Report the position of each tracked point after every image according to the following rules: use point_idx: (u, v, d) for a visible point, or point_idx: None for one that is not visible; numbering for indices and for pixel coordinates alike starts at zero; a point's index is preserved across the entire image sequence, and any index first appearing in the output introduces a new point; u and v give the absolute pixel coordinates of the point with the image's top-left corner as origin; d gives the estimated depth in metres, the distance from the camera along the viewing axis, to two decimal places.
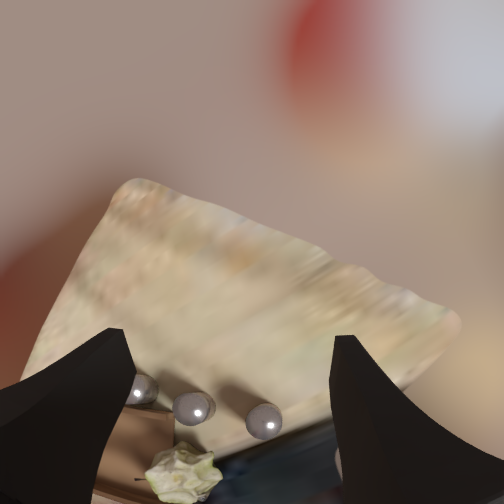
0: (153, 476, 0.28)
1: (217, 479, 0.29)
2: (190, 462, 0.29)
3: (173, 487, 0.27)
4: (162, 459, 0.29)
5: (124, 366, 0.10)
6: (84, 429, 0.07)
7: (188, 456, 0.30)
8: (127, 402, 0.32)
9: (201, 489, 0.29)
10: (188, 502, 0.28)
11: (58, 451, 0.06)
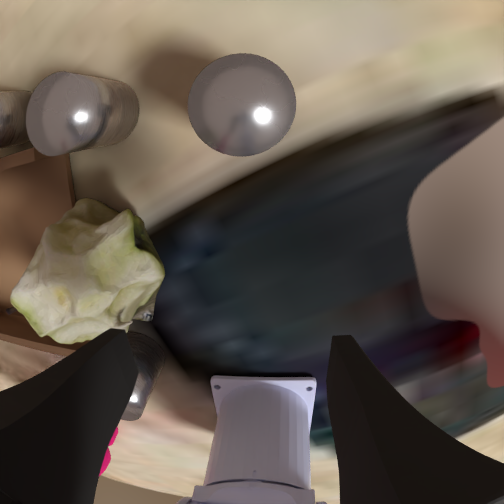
0: (27, 299, 0.14)
1: (151, 280, 0.16)
2: (79, 250, 0.13)
3: (65, 316, 0.14)
4: (35, 254, 0.14)
5: (126, 366, 0.10)
6: (87, 430, 0.07)
7: (78, 233, 0.14)
8: None
9: (126, 306, 0.16)
10: None
11: (61, 452, 0.06)
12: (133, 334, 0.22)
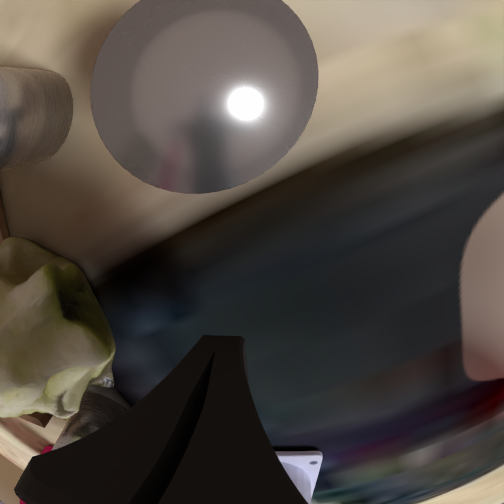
0: None
1: (90, 365, 0.10)
2: None
3: None
4: None
5: None
6: None
7: None
8: None
9: (68, 388, 0.10)
10: None
11: None
12: (95, 398, 0.16)
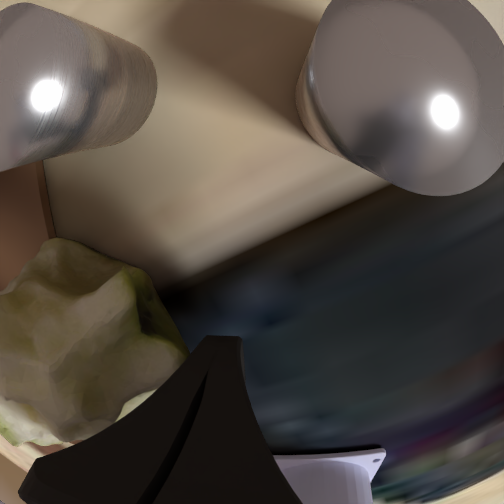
0: None
1: None
2: (43, 350, 0.07)
3: (43, 431, 0.07)
4: None
5: None
6: None
7: (40, 314, 0.07)
8: None
9: None
10: None
11: None
12: None
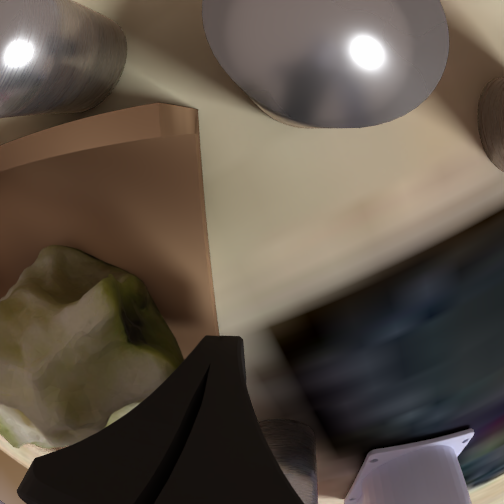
0: None
1: None
2: (29, 357, 0.06)
3: (39, 435, 0.07)
4: None
5: None
6: None
7: (29, 322, 0.07)
8: None
9: None
10: None
11: None
12: (279, 423, 0.14)
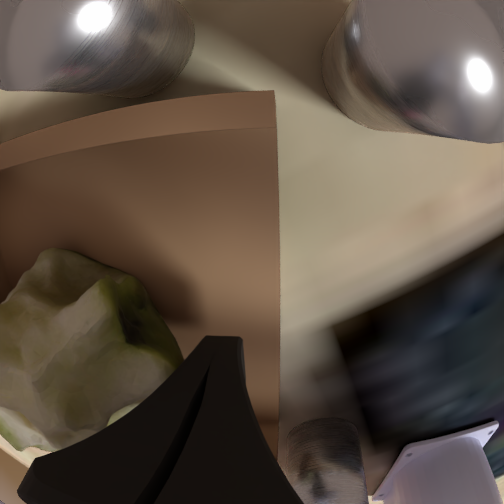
0: None
1: None
2: (28, 359, 0.06)
3: (41, 437, 0.08)
4: None
5: None
6: None
7: (28, 325, 0.07)
8: (33, 73, 0.04)
9: None
10: None
11: None
12: (327, 422, 0.14)
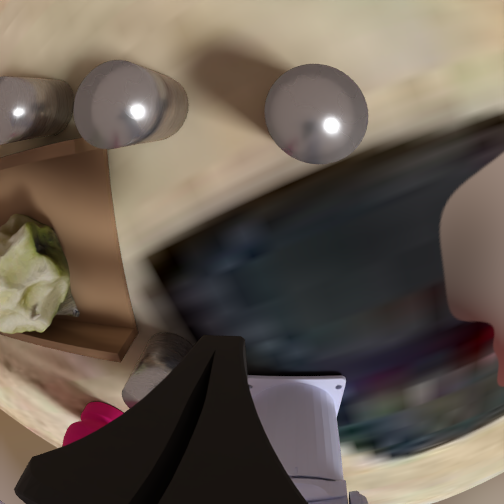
0: None
1: (48, 279, 0.16)
2: None
3: None
4: None
5: None
6: None
7: None
8: None
9: (41, 302, 0.17)
10: (40, 328, 0.19)
11: None
12: (166, 335, 0.22)
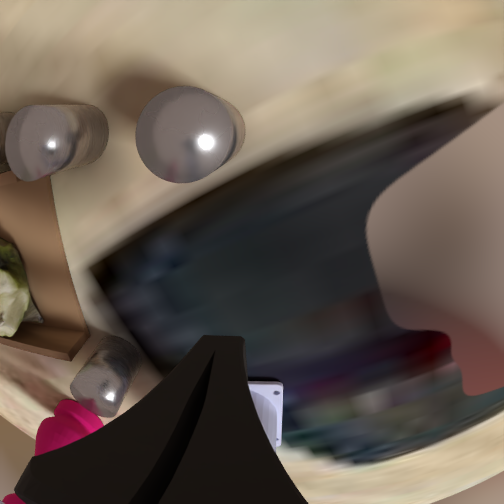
0: None
1: (8, 291, 0.17)
2: None
3: None
4: None
5: None
6: None
7: None
8: None
9: (6, 310, 0.18)
10: (9, 333, 0.20)
11: None
12: (112, 338, 0.23)
